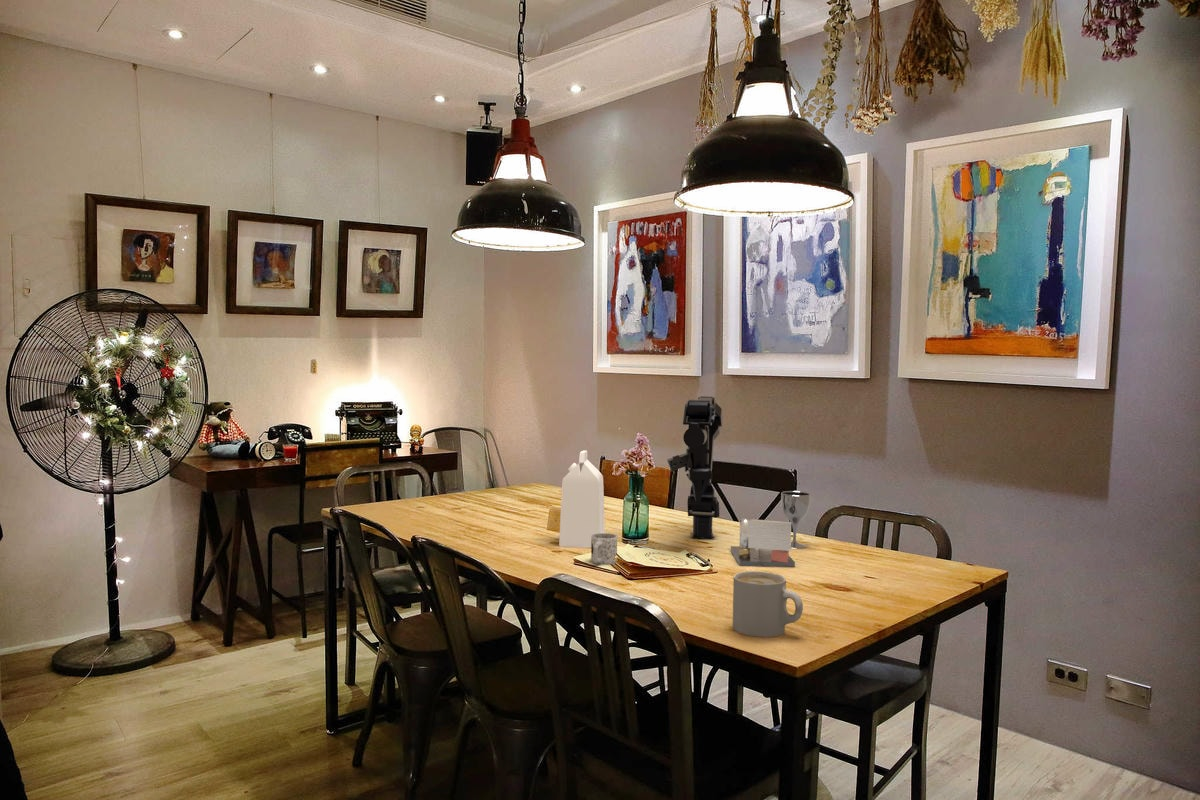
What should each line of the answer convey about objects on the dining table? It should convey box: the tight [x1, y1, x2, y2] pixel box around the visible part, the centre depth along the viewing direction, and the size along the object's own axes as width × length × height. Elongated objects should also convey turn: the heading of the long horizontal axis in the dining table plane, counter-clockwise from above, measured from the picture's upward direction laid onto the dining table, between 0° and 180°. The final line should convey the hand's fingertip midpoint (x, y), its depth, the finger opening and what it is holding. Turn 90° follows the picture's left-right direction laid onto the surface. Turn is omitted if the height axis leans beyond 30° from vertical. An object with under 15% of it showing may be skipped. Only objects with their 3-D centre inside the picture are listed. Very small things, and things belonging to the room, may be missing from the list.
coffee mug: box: [732, 570, 804, 638], centre depth 157 cm, size 13×10×10 cm
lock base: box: [730, 545, 796, 568], centre depth 216 cm, size 17×14×4 cm
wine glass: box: [780, 490, 811, 550], centre depth 232 cm, size 8×8×15 cm
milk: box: [558, 450, 606, 549], centre depth 232 cm, size 12×12×26 cm
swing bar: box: [739, 518, 792, 552], centre depth 210 cm, size 13×3×7 cm, turn 72°
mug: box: [590, 532, 618, 566], centre depth 209 cm, size 10×7×7 cm, turn 159°
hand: (697, 500), depth 228 cm, fingers closed
